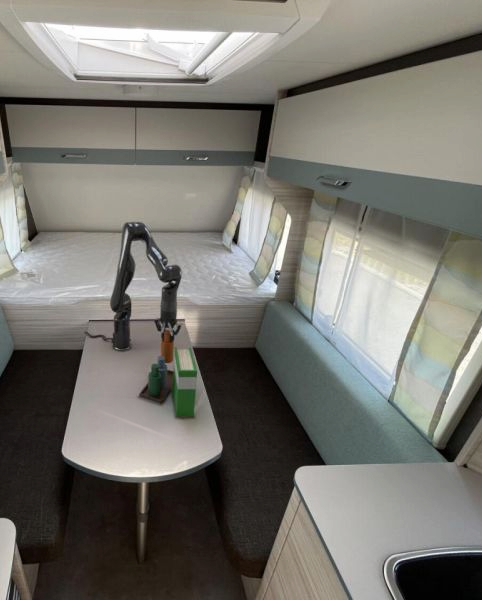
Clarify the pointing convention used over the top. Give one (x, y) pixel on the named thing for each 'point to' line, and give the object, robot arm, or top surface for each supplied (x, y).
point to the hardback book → (184, 382)
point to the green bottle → (154, 381)
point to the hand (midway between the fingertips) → (167, 340)
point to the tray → (163, 392)
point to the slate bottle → (162, 371)
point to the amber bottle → (167, 347)
